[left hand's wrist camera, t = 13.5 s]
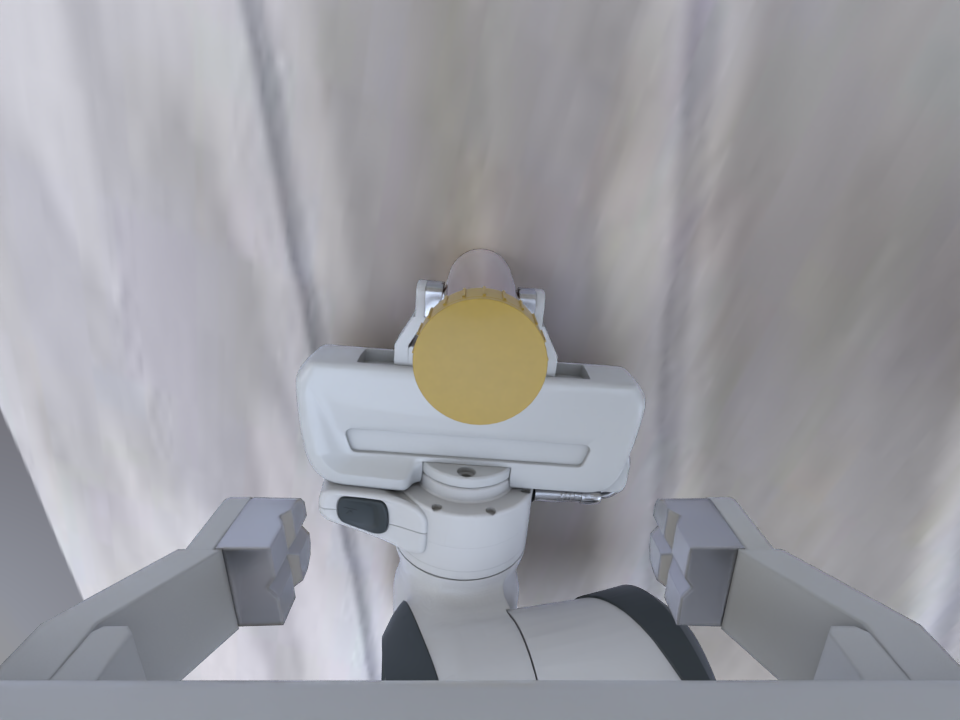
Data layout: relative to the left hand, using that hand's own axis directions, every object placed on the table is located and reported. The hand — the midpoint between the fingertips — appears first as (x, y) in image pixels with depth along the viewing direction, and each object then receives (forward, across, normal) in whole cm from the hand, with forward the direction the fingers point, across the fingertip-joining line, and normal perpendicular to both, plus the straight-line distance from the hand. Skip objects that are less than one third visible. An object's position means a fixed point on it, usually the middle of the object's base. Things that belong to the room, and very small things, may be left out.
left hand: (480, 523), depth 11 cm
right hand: (+19, 0, -1) cm, 19 cm away
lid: (+10, 0, 0) cm, 10 cm away
